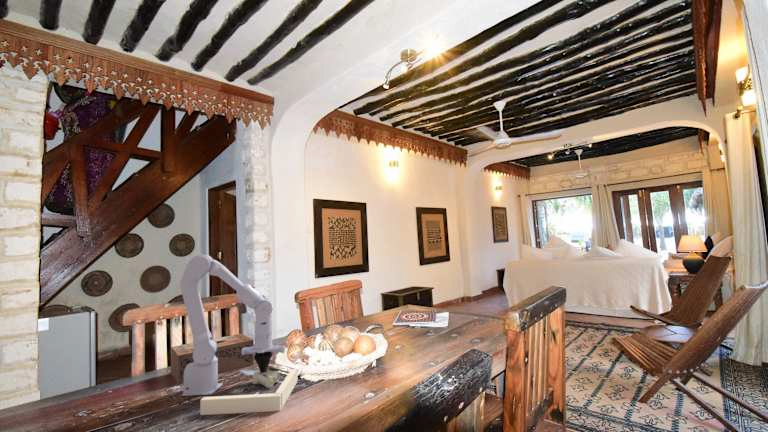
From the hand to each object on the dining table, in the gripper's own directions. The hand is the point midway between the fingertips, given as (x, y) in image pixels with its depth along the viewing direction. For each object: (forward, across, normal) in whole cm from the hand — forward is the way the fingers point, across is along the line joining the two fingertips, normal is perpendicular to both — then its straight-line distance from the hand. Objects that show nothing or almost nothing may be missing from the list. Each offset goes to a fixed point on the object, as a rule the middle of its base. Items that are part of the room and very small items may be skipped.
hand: (264, 374), depth 118 cm
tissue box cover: (+2, -24, +14) cm, 28 cm away
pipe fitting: (+2, +2, -4) cm, 5 cm away
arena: (+2, +1, -13) cm, 13 cm away
